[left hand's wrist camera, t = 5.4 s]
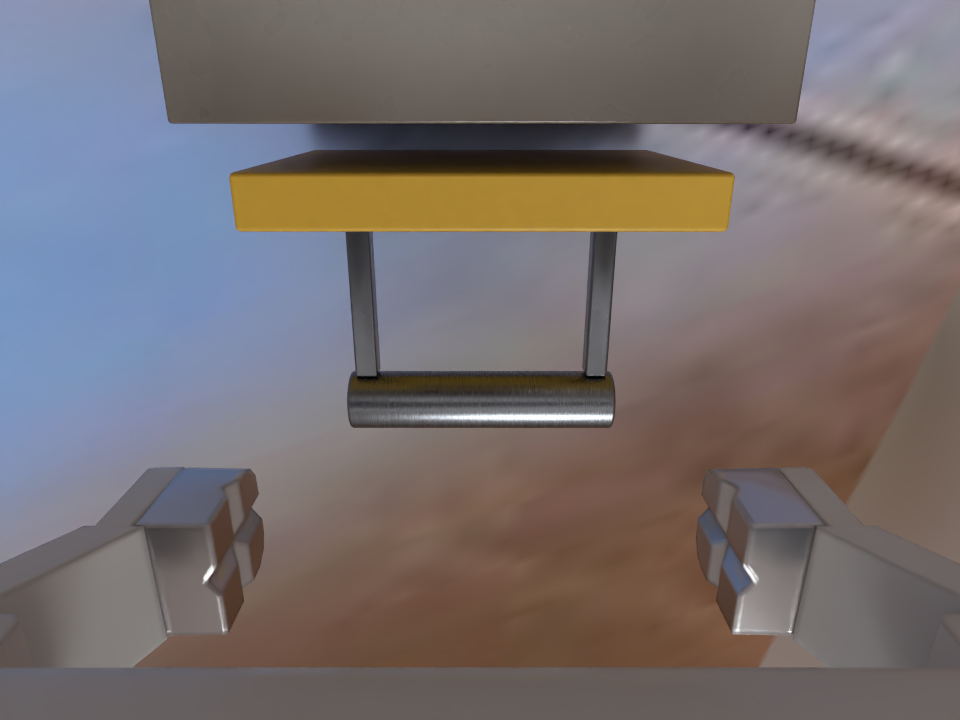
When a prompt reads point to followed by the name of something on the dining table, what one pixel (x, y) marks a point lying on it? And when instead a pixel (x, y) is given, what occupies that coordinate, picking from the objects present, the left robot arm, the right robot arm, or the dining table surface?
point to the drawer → (481, 208)
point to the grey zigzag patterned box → (482, 61)
